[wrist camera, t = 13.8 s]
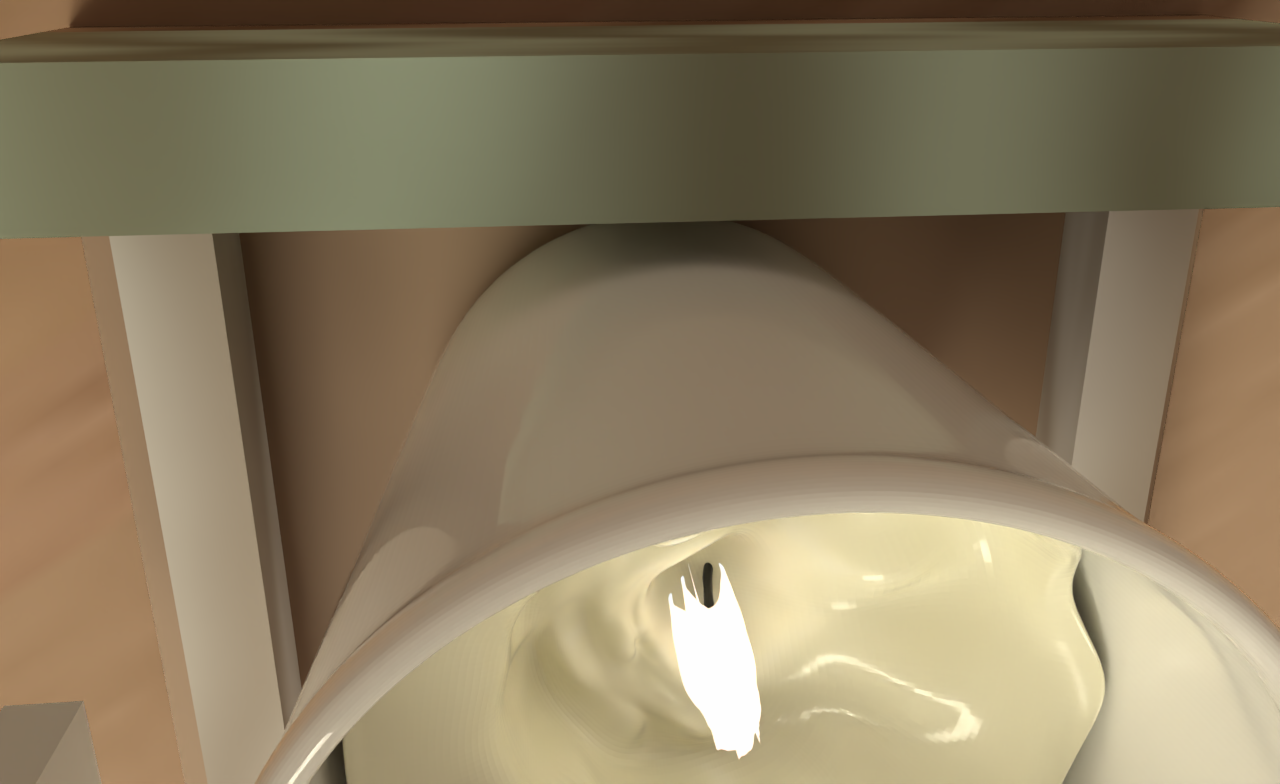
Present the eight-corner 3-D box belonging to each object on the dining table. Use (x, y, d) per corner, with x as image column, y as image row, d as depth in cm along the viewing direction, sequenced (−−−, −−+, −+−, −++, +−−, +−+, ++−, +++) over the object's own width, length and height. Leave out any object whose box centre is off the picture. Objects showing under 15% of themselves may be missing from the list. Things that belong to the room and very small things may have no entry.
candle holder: (856, 82, 19) (1338, 291, 7) (970, 573, 22) (1407, 1202, 11) (291, 270, 19) (-52, 737, 8) (495, 724, 23) (460, 1481, 11)
